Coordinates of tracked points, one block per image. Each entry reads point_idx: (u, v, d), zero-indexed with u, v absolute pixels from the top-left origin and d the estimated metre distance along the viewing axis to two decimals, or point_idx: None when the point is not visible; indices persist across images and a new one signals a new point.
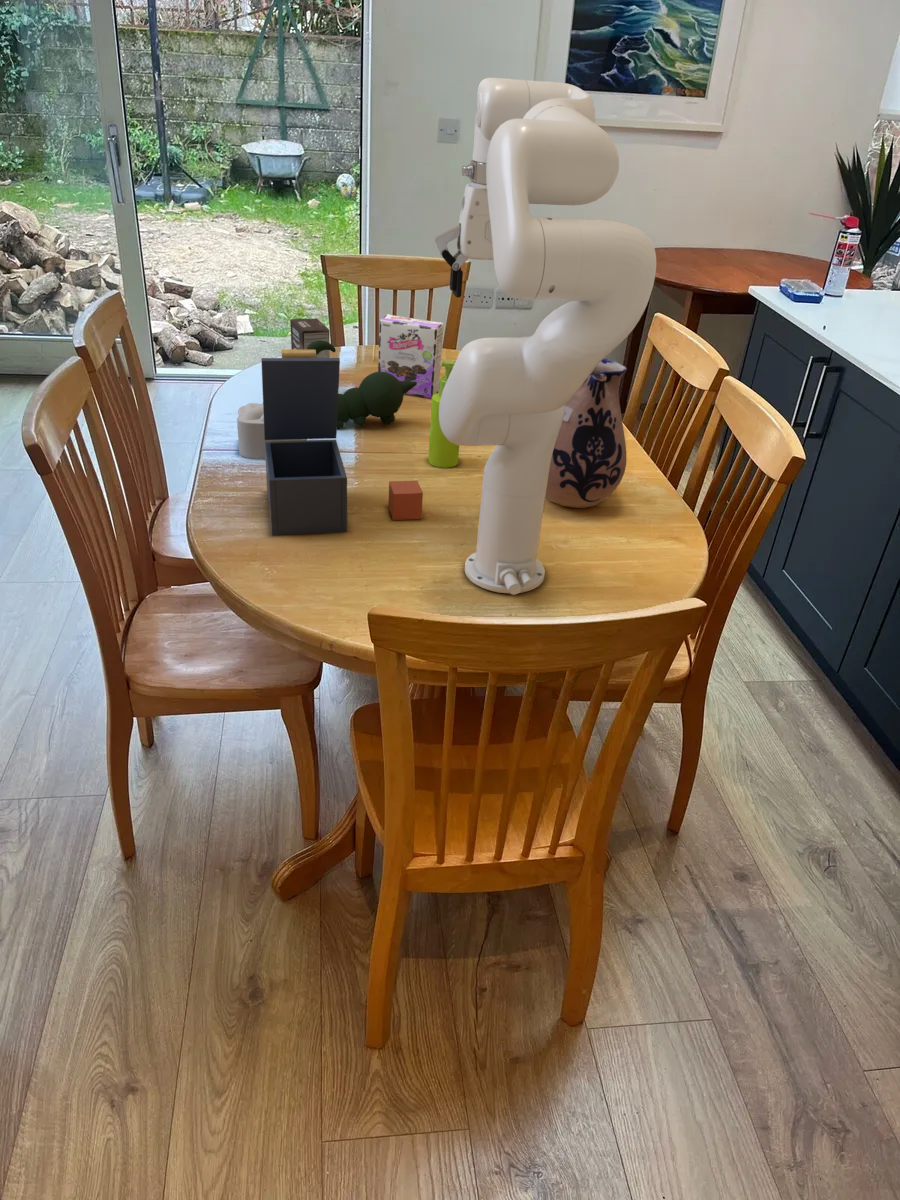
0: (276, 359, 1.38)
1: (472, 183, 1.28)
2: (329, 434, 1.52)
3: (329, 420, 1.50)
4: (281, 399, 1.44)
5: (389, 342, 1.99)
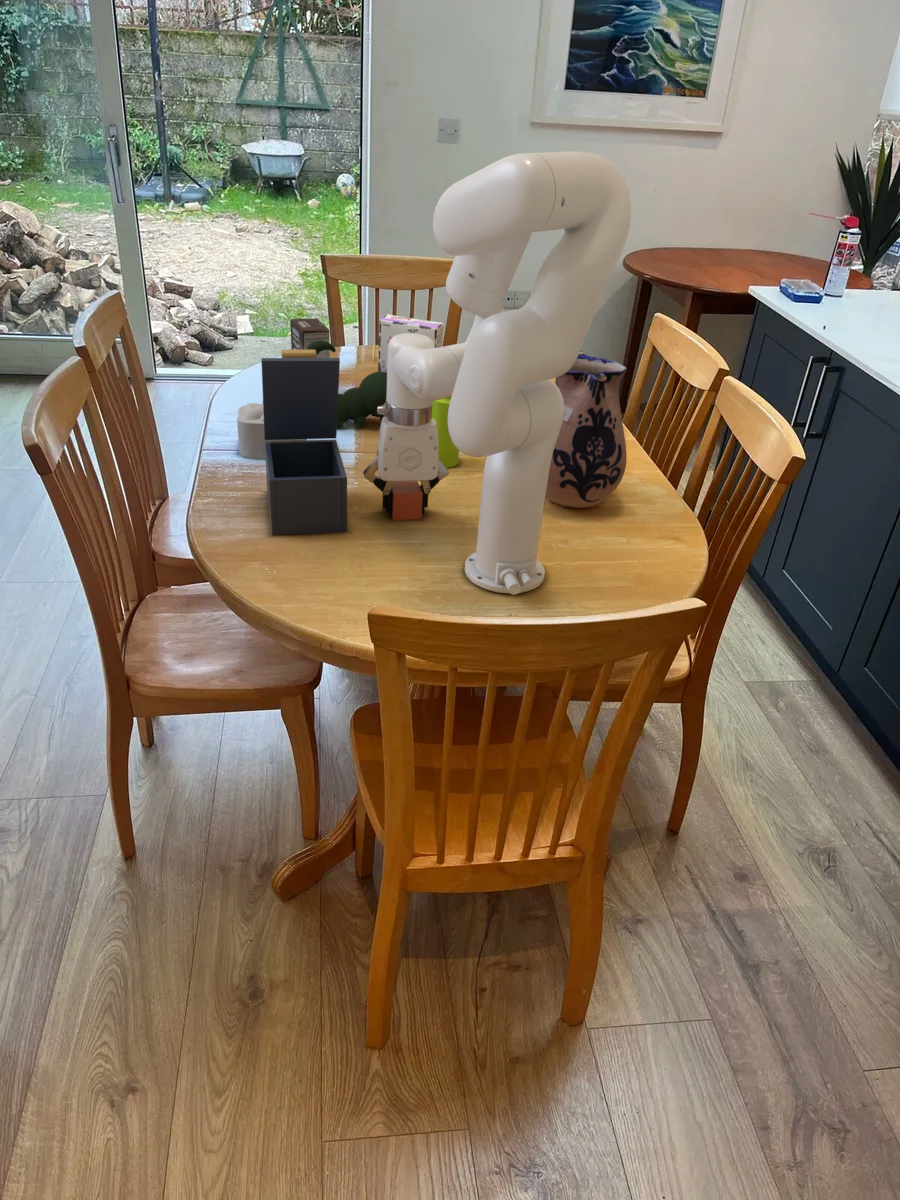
0: (276, 359, 1.38)
1: (386, 420, 1.43)
2: (329, 434, 1.52)
3: (329, 420, 1.50)
4: (281, 399, 1.44)
5: None
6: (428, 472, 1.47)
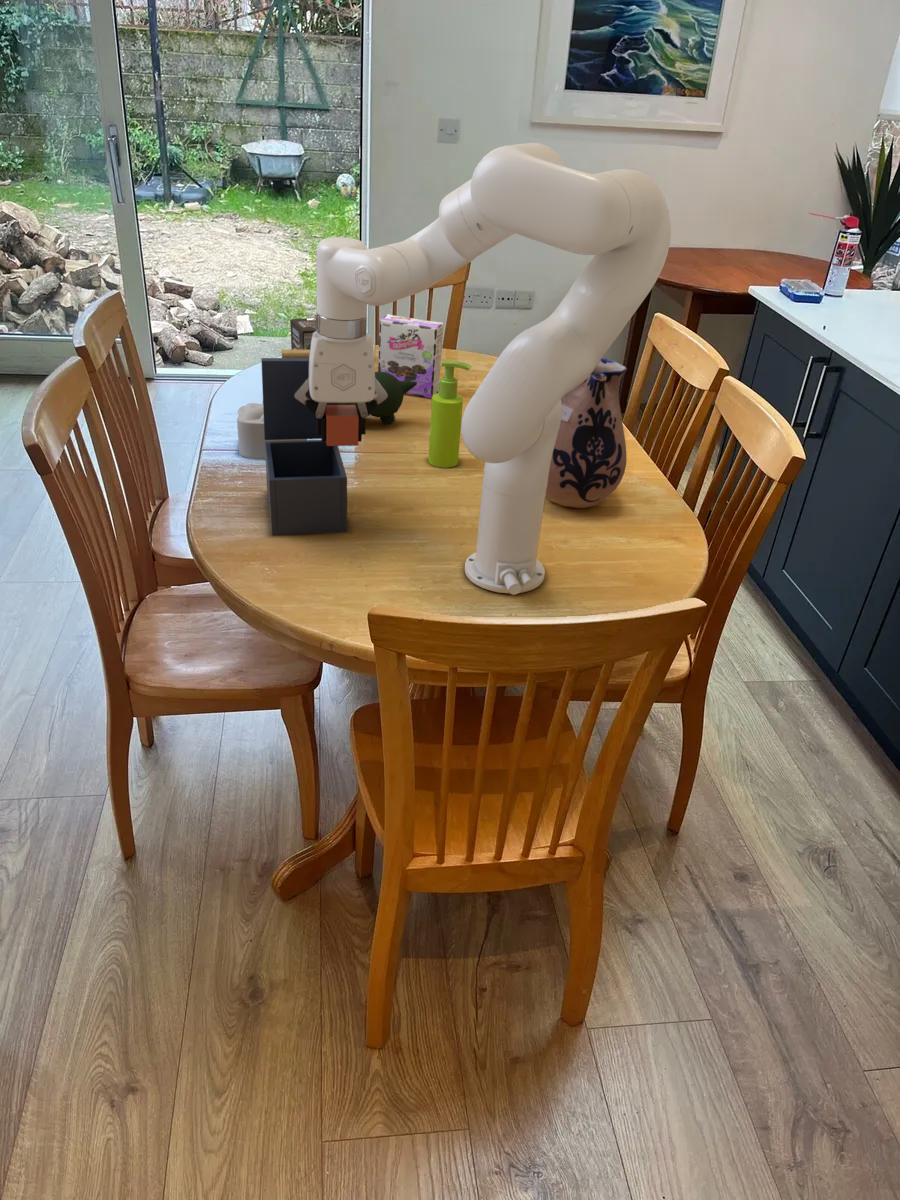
0: (276, 359, 1.38)
1: (317, 333, 1.32)
2: None
3: None
4: (281, 399, 1.44)
5: (389, 342, 1.99)
6: (363, 393, 1.36)
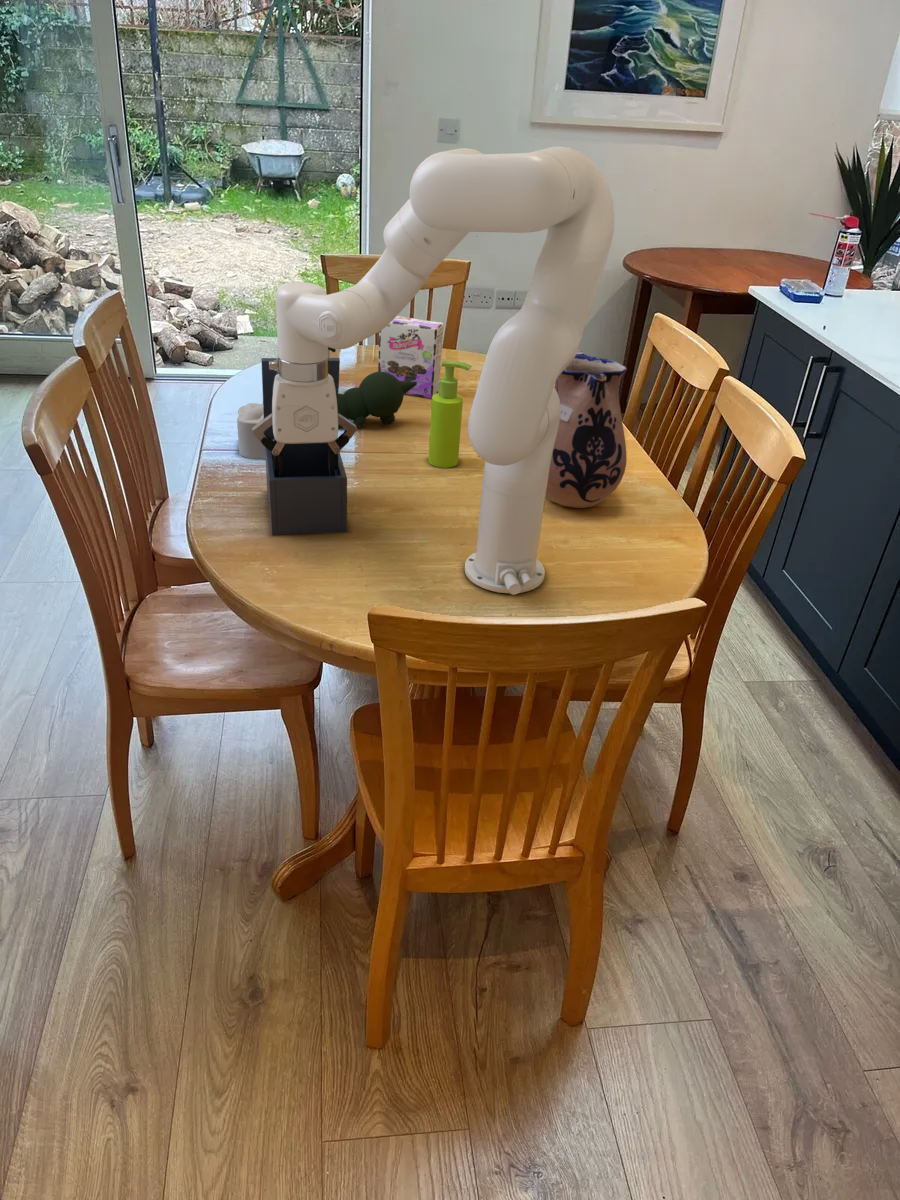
0: None
1: (279, 376, 1.33)
2: None
3: None
4: None
5: (389, 342, 1.99)
6: (327, 433, 1.38)
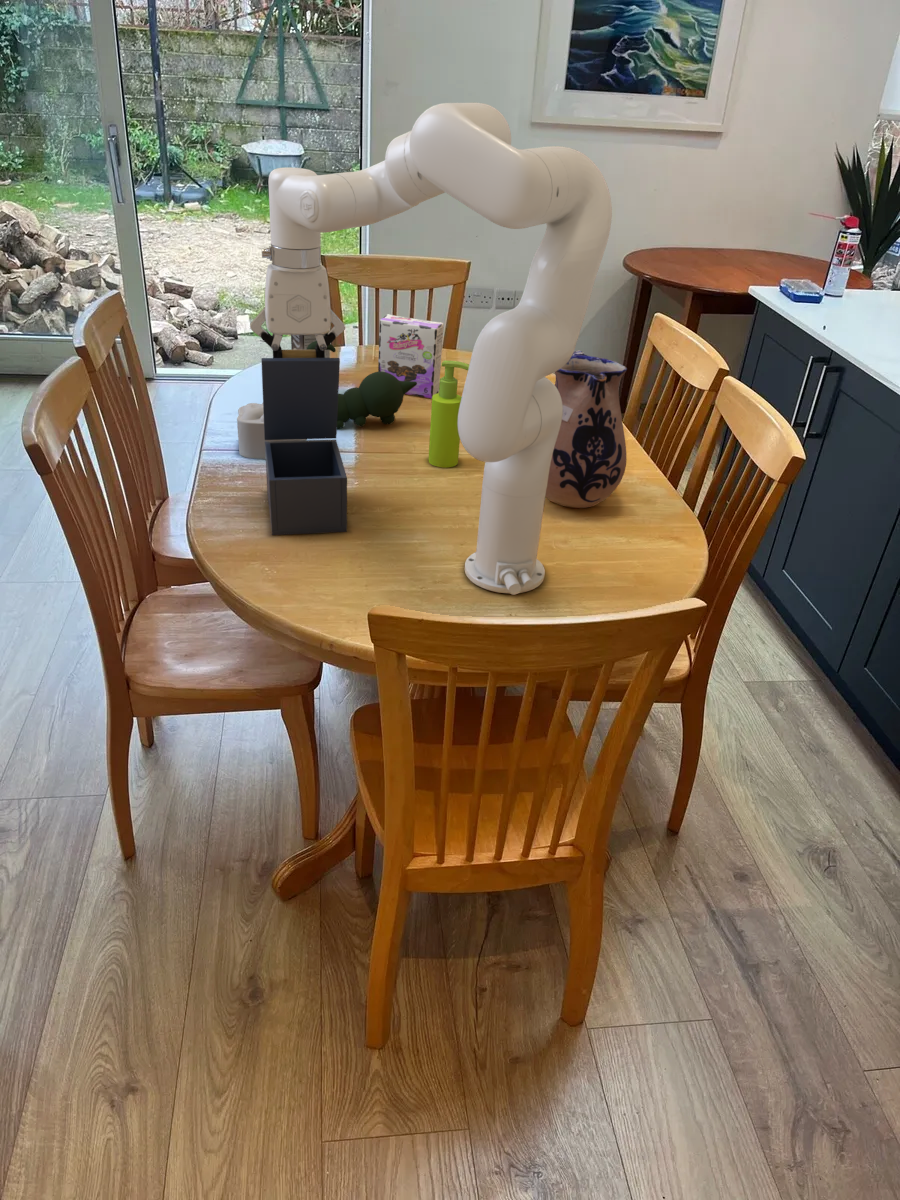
0: (276, 359, 1.38)
1: (272, 264, 1.34)
2: (329, 434, 1.52)
3: (329, 420, 1.50)
4: (281, 399, 1.44)
5: (389, 342, 1.99)
6: (319, 325, 1.39)
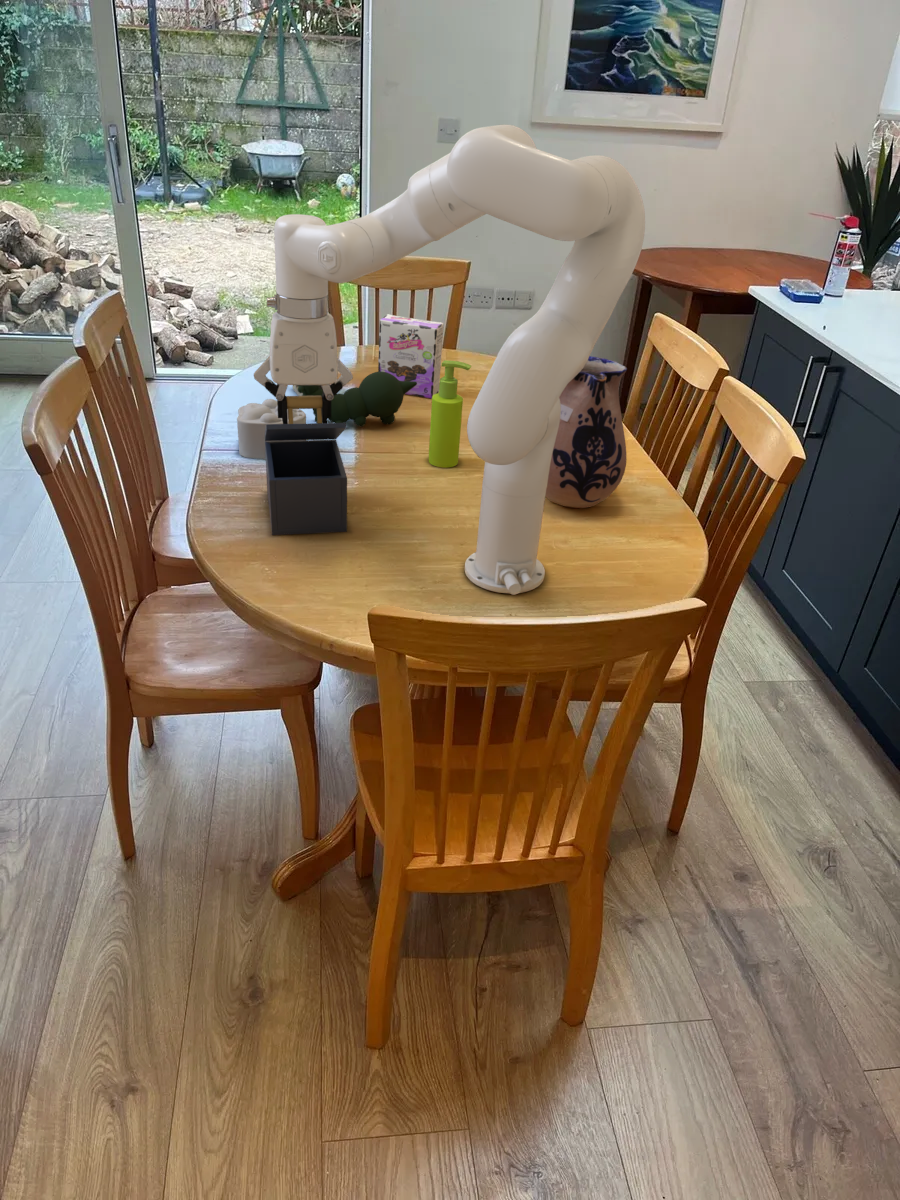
0: (281, 426, 1.35)
1: (277, 313, 1.29)
2: (329, 438, 1.52)
3: (330, 436, 1.49)
4: (284, 434, 1.43)
5: (389, 342, 1.99)
6: (326, 375, 1.33)
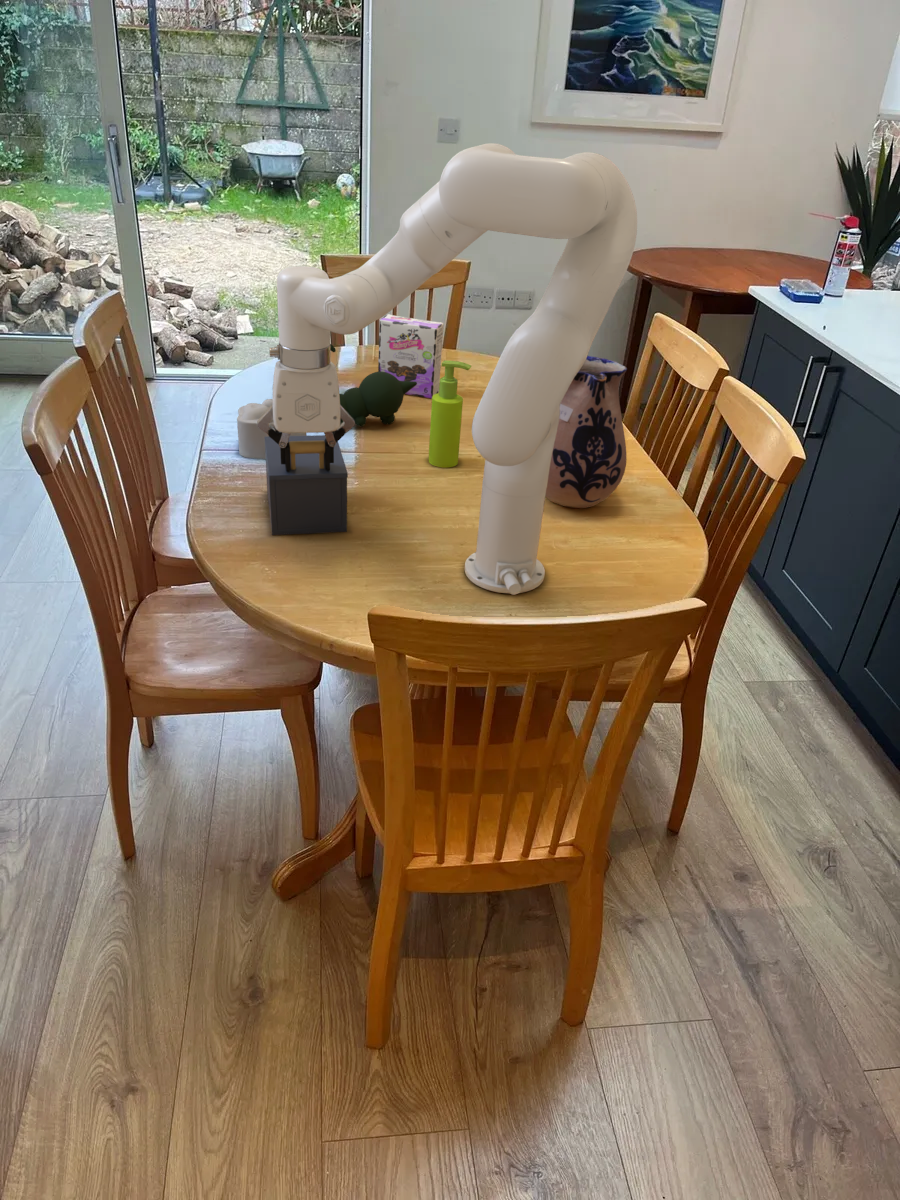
0: (284, 477, 1.38)
1: (280, 363, 1.30)
2: None
3: None
4: None
5: (389, 342, 1.99)
6: (329, 422, 1.34)
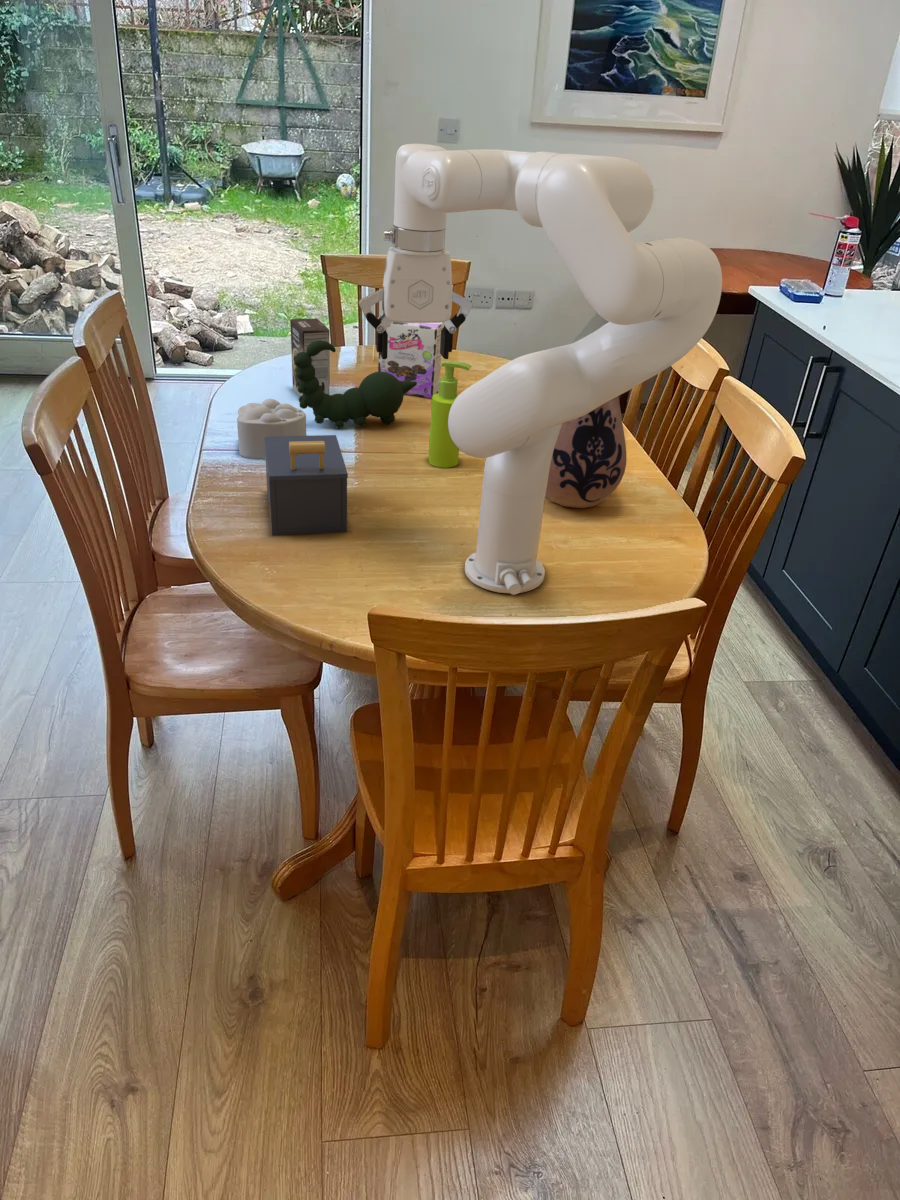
0: (284, 478, 1.38)
1: (394, 247, 1.27)
2: None
3: None
4: None
5: (389, 342, 1.99)
6: (440, 312, 1.31)
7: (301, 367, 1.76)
